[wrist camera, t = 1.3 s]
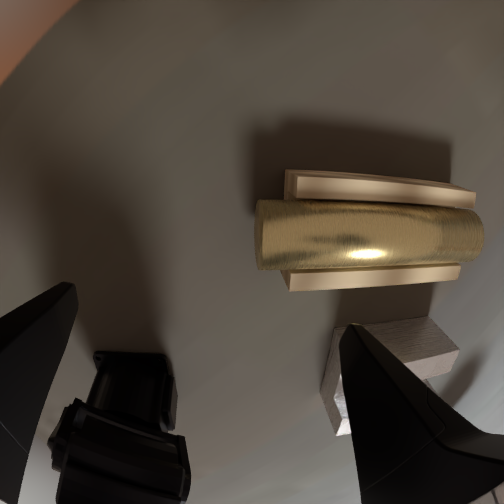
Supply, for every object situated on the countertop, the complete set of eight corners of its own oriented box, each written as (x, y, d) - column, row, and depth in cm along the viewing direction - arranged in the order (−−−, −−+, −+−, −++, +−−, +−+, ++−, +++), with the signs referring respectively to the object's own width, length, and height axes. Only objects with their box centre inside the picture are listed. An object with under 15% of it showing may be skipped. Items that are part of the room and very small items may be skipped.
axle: (253, 256, 20) (262, 281, 17) (255, 194, 19) (264, 206, 15) (446, 251, 22) (477, 269, 18) (454, 204, 21) (488, 216, 17)
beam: (279, 269, 22) (289, 291, 19) (285, 169, 20) (297, 176, 17) (435, 263, 24) (457, 279, 21) (450, 183, 21) (476, 192, 18)
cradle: (319, 393, 28) (336, 436, 23) (334, 327, 25) (358, 371, 20) (405, 377, 29) (428, 412, 24) (428, 316, 26) (460, 349, 21)
